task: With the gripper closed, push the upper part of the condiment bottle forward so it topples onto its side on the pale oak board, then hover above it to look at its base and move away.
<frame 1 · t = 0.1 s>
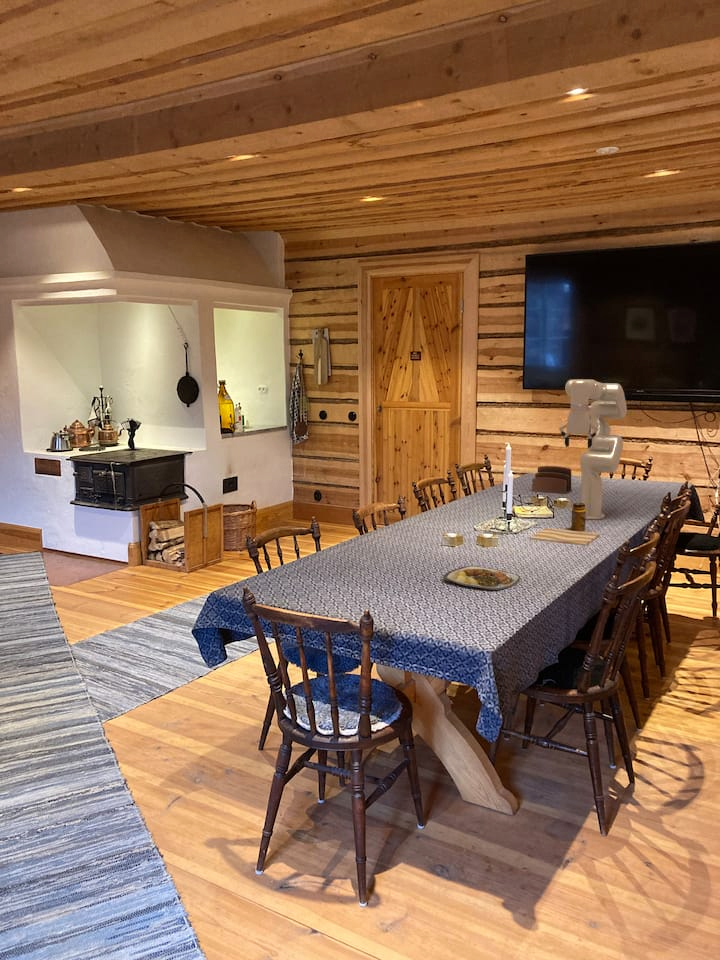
hand: (578, 447, 345), 36 cm above the table, tool pointing down, fingers open, 9 cm apart
oak board: (565, 537, 331), on the table
letter holder: (551, 492, 441), on the table
condiment: (576, 530, 345), on the table
meal: (482, 580, 273), on the table
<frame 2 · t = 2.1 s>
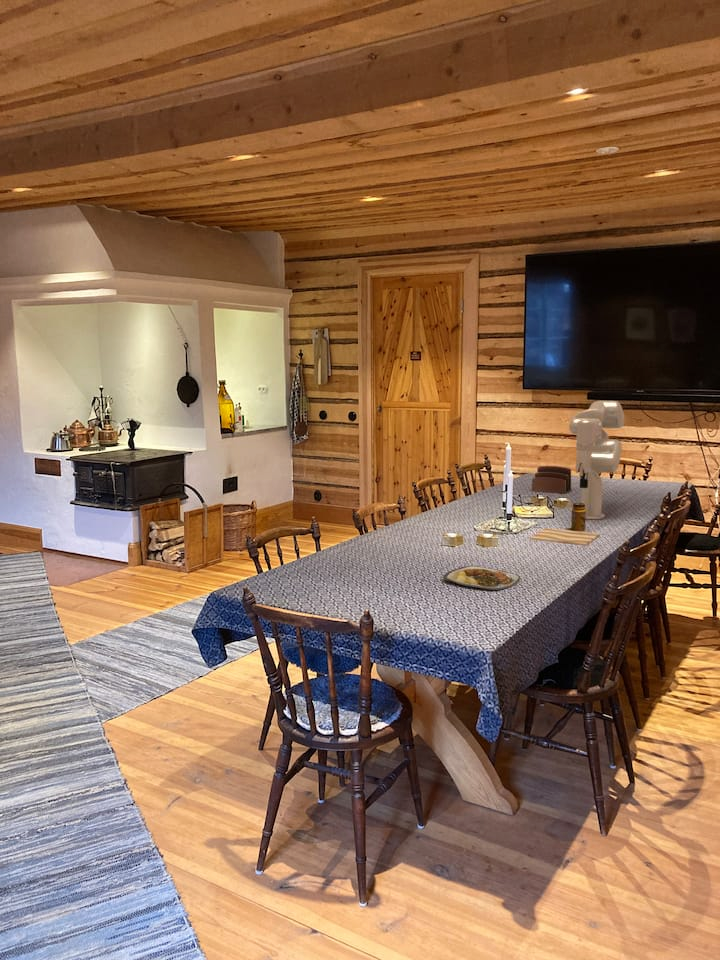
hand: (583, 487, 350), 18 cm above the table, tool pointing down, fingers closed
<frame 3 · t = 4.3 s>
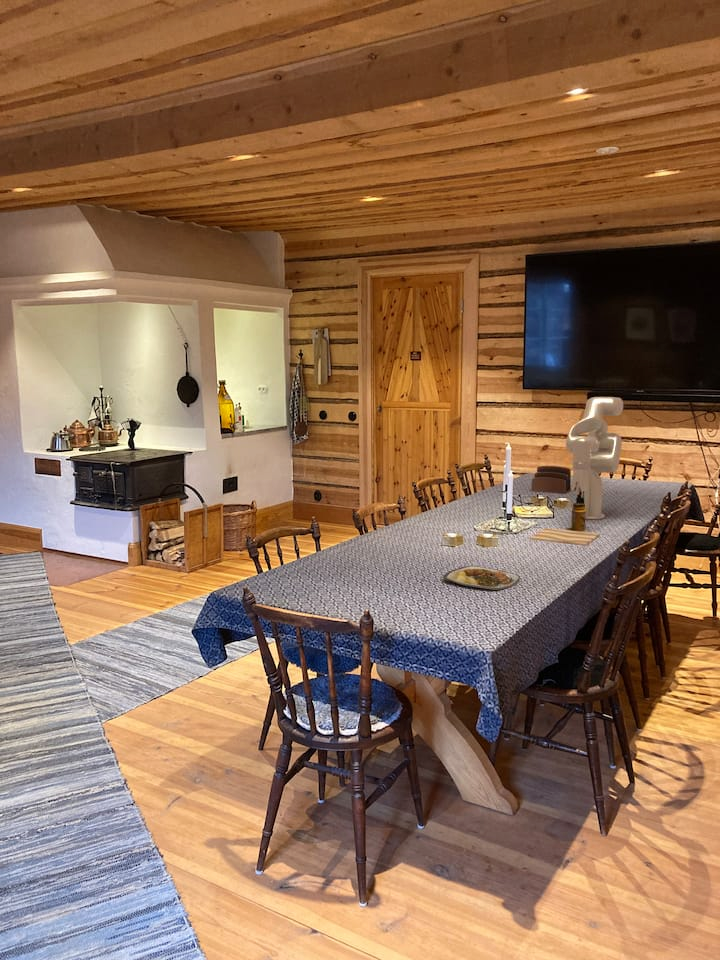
hand: (580, 506, 347), 10 cm above the table, tool pointing down, fingers closed
condiment: (576, 530, 345), on the table, touching gripper
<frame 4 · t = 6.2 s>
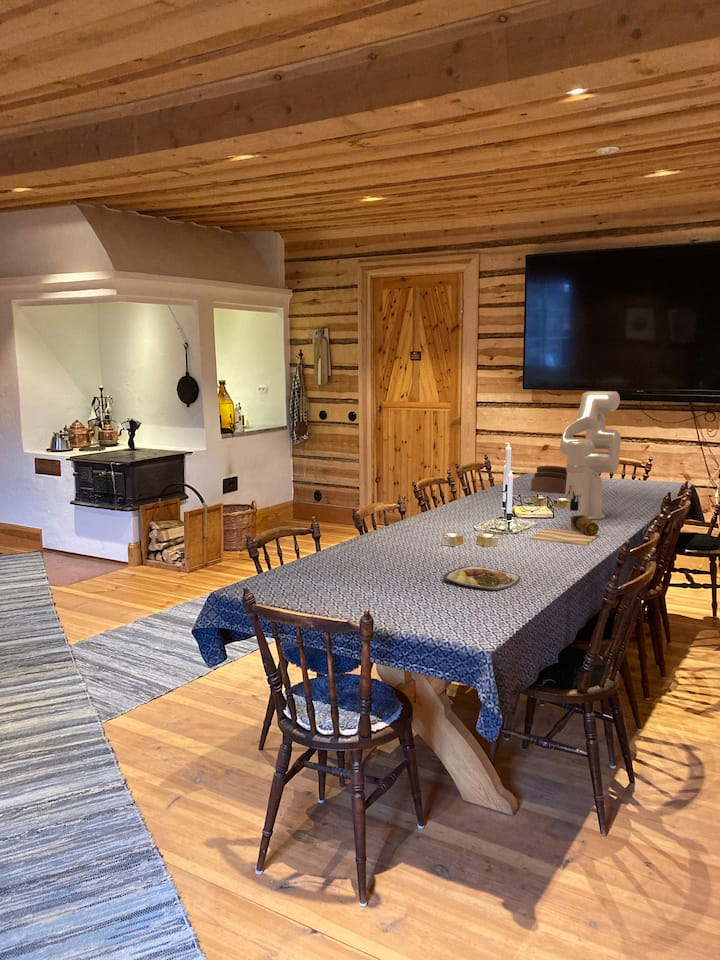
hand: (574, 510, 340), 10 cm above the table, tool pointing down, fingers closed
condiment: (579, 523, 341), point 4 cm above the table, touching oak board
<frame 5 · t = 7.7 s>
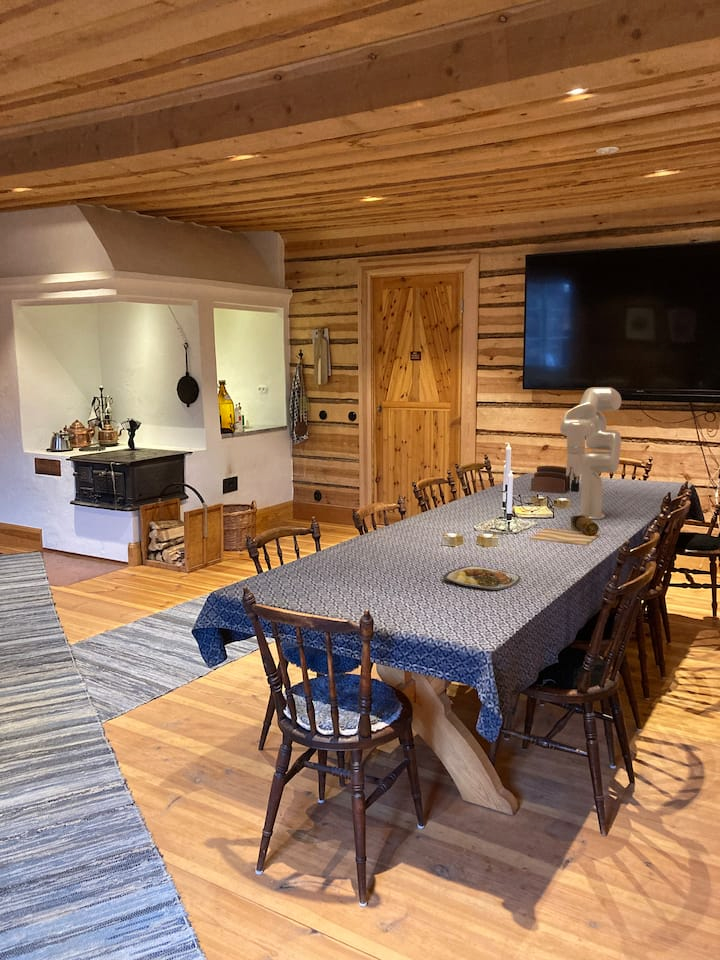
hand: (574, 491, 339), 18 cm above the table, tool pointing down, fingers closed
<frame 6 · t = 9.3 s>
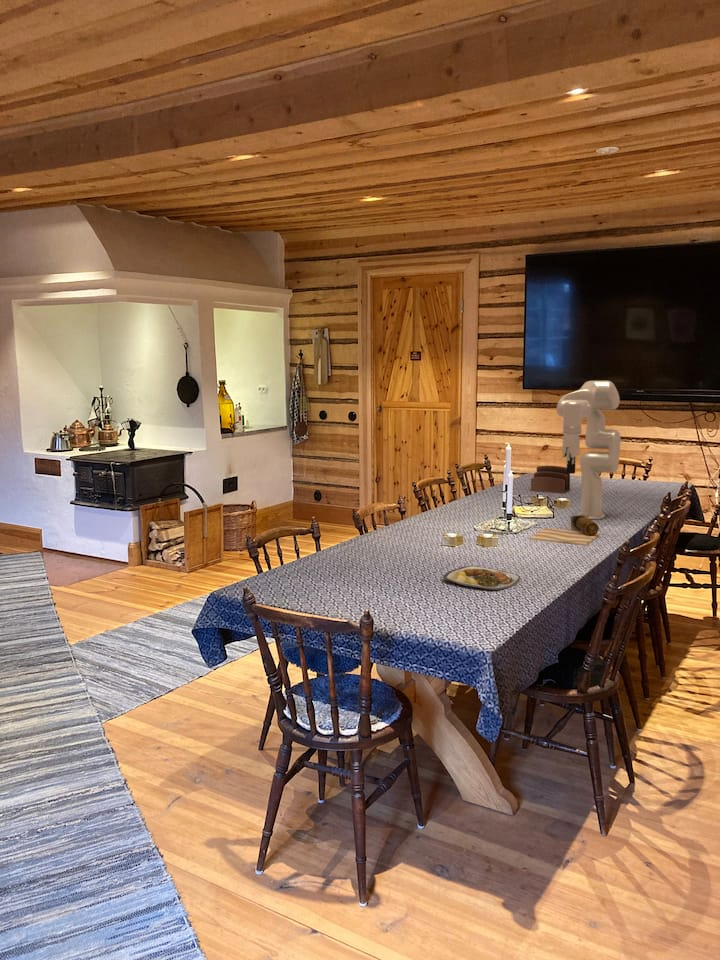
hand: (570, 473, 332), 27 cm above the table, tool pointing down, fingers closed
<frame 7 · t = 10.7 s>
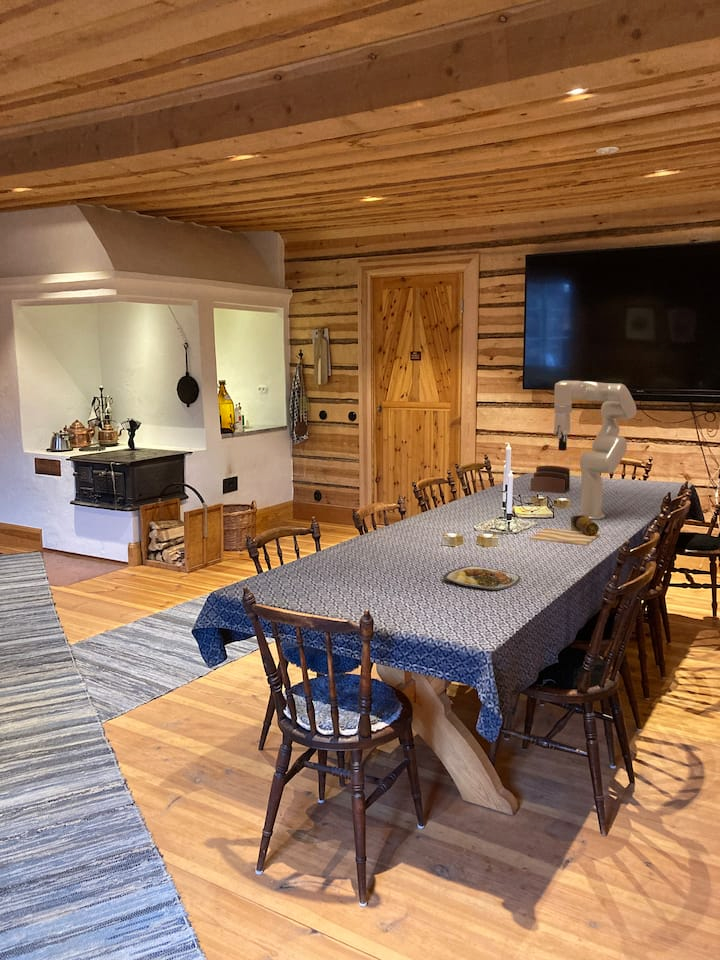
hand: (562, 450, 350), 35 cm above the table, tool pointing down, fingers closed
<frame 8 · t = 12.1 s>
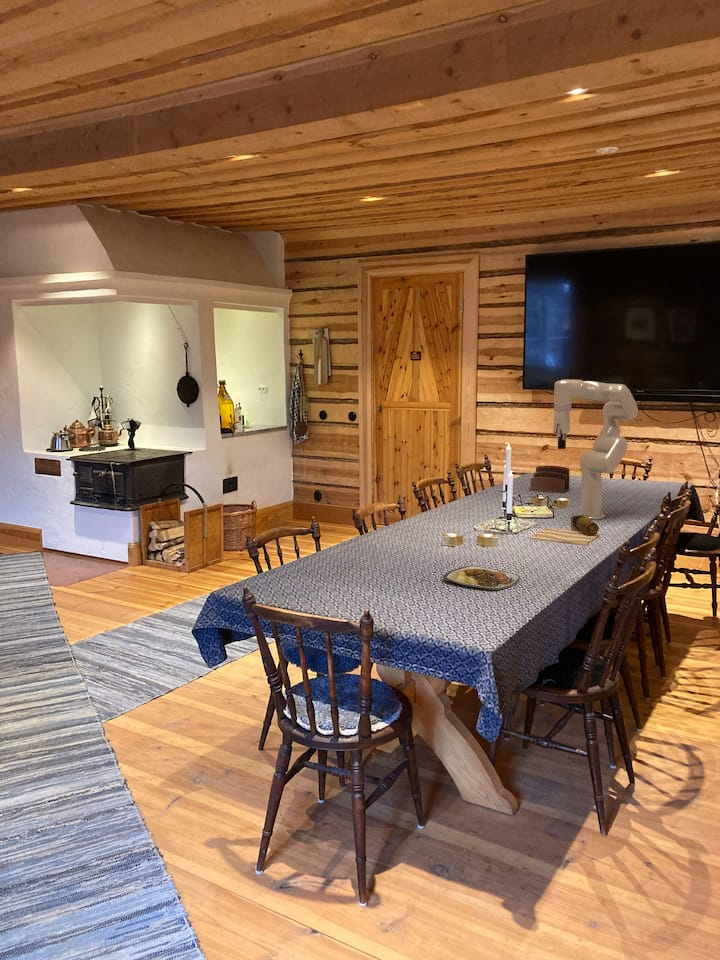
hand: (561, 448, 351), 35 cm above the table, tool pointing down, fingers closed
at the end: condiment tilted 89°; condiment touching oak board, table; condiment inside the target area (5.3 cm from its centre), point 3.8 cm above the table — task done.
